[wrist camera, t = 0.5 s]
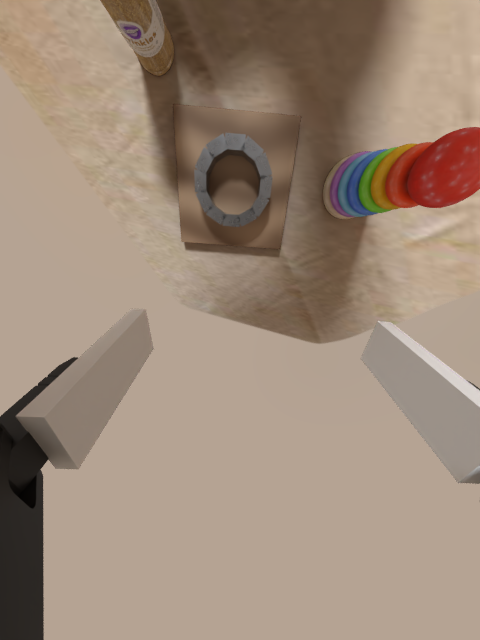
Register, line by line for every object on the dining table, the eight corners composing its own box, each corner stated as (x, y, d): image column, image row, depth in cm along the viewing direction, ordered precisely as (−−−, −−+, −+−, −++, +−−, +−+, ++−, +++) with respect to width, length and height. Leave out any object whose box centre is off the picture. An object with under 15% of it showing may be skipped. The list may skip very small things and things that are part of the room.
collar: (197, 137, 26) (193, 129, 24) (273, 144, 27) (277, 137, 24) (199, 222, 31) (195, 223, 28) (264, 227, 31) (266, 229, 29)
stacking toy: (324, 226, 33) (409, 241, 16) (317, 167, 29) (418, 110, 13) (375, 209, 31) (524, 207, 15) (375, 146, 28) (571, 51, 11)
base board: (176, 109, 26) (172, 103, 25) (298, 120, 27) (301, 116, 25) (183, 240, 34) (181, 241, 32) (278, 247, 34) (280, 249, 33)
